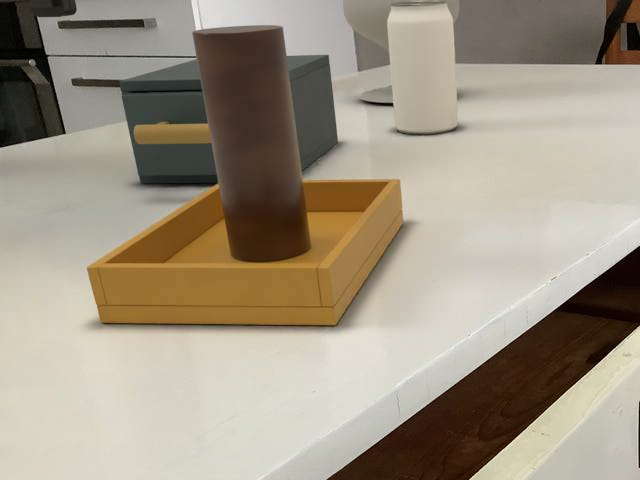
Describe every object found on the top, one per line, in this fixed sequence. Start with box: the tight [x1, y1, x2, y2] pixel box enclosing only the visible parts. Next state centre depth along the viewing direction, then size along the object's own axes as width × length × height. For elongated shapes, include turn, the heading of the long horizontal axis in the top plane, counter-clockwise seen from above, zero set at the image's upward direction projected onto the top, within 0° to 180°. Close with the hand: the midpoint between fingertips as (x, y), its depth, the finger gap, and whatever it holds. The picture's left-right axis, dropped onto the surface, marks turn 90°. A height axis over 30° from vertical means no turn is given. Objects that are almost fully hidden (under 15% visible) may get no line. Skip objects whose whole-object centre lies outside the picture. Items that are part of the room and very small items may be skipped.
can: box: [387, 1, 459, 135], centre depth 84 cm, size 6×6×12 cm
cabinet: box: [118, 54, 339, 184], centre depth 74 cm, size 16×13×8 cm
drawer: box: [121, 90, 217, 177], centre depth 71 cm, size 19×11×6 cm, turn 174°
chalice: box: [342, 0, 461, 104], centre depth 103 cm, size 14×14×15 cm
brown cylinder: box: [191, 24, 311, 262], centre depth 46 cm, size 5×5×12 cm
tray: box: [86, 178, 404, 326], centre depth 49 cm, size 12×17×3 cm
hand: (55, 15), depth 53 cm, fingers closed
